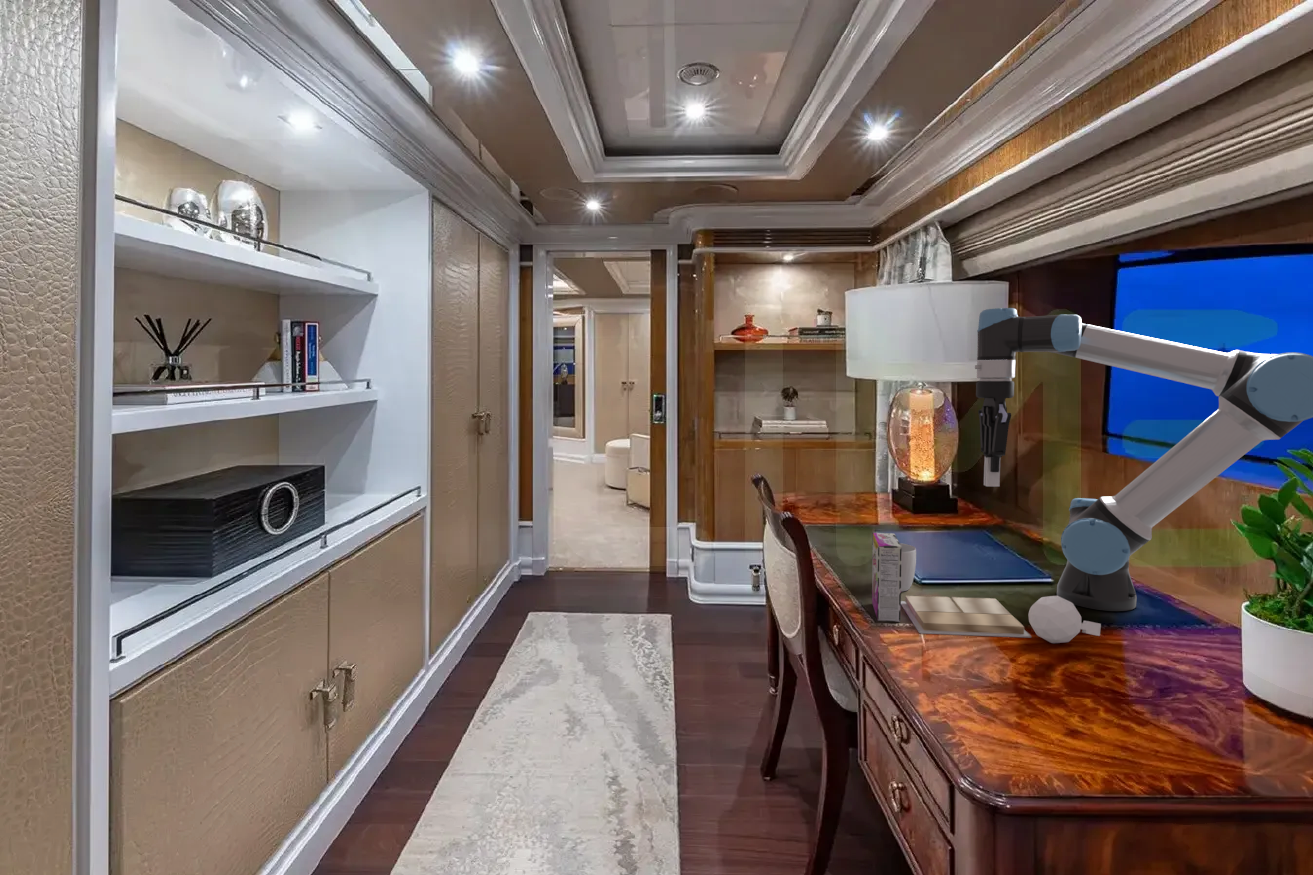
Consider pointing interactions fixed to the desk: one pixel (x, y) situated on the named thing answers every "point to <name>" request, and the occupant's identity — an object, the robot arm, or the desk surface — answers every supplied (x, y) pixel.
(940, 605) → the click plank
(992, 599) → the panel
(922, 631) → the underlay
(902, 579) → the mug
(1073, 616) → the perfume bottle
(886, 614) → the candy bar box
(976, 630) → the laid plank
